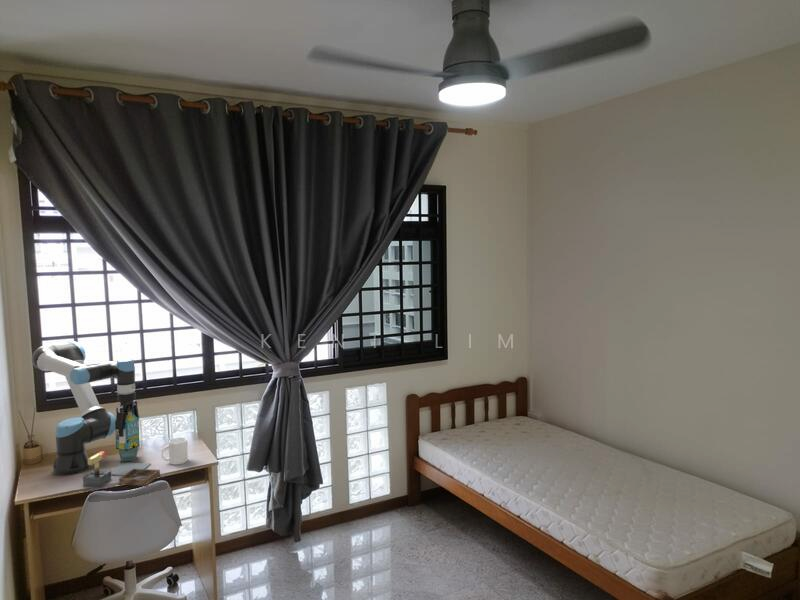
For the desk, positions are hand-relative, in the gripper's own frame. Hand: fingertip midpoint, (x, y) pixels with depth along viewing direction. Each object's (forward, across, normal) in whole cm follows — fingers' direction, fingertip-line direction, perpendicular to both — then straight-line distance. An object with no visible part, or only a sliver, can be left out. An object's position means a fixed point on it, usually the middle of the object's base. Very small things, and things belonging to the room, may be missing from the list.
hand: (128, 439), depth 262 cm
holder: (+15, -10, -11) cm, 21 cm away
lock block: (+15, -15, +6) cm, 22 cm away
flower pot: (+15, +12, +7) cm, 21 cm away
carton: (+4, 0, 0) cm, 4 cm away
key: (+11, -15, +6) cm, 19 cm away
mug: (+15, +11, -17) cm, 25 cm away
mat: (+15, 0, 0) cm, 15 cm away
